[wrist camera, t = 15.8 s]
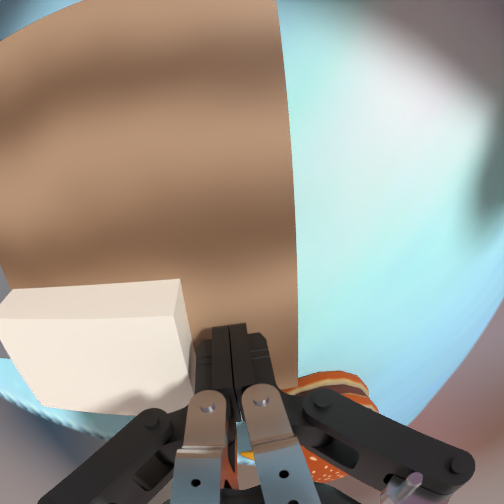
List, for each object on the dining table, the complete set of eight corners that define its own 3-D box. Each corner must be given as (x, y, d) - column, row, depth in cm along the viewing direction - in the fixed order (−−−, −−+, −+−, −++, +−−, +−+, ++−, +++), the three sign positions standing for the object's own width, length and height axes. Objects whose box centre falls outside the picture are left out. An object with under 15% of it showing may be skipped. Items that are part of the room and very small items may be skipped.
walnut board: (-1, 67, 9) (-35, 65, 6) (260, -6, 10) (271, -32, 7) (85, 368, 18) (73, 400, 15) (287, 351, 18) (297, 386, 16)
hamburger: (230, 419, 21) (237, 491, 15) (321, 348, 19) (354, 428, 13) (307, 443, 25) (322, 500, 19) (387, 387, 22) (418, 446, 16)
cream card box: (13, 289, 11) (-12, 317, 9) (180, 278, 12) (173, 315, 10) (55, 374, 14) (42, 405, 12) (200, 377, 15) (200, 415, 12)
